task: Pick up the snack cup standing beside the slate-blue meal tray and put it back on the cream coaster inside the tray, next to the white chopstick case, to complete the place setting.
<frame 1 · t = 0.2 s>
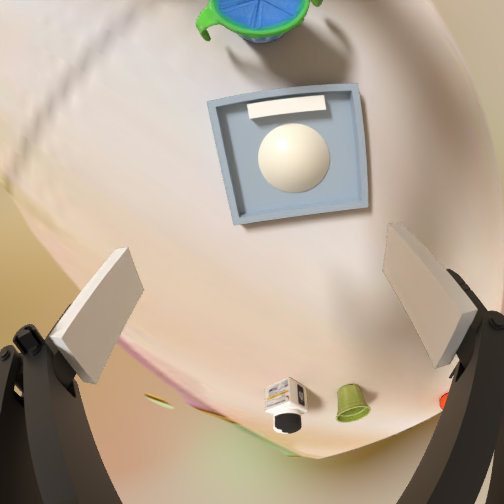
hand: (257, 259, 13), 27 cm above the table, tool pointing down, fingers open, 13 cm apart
meal tray: (292, 150, 36), on the table
container: (285, 386, 64), on the table
snack cup: (260, 22, 27), on the table
plant pot: (348, 388, 65), on the table
tomato: (443, 395, 72), on the table
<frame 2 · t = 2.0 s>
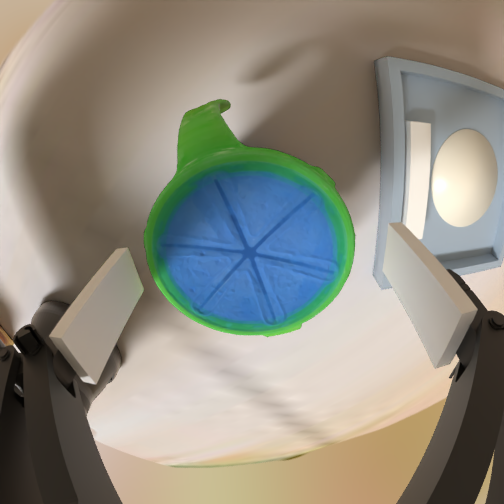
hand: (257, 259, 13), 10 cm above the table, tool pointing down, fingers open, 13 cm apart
meal tray: (456, 176, 20), on the table
snack cup: (252, 195, 22), on the table
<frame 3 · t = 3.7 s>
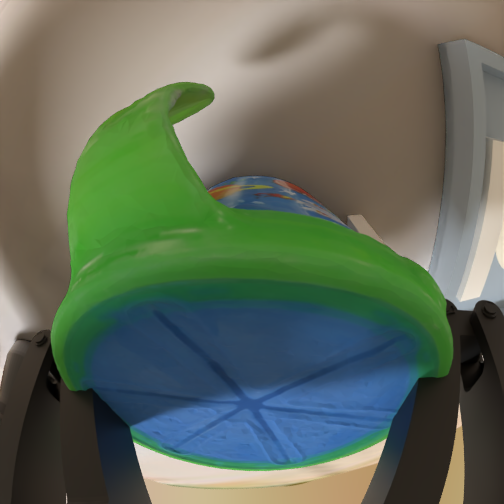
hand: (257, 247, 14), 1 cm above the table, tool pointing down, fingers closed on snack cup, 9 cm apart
snack cup: (256, 240, 15), on the table, touching gripper
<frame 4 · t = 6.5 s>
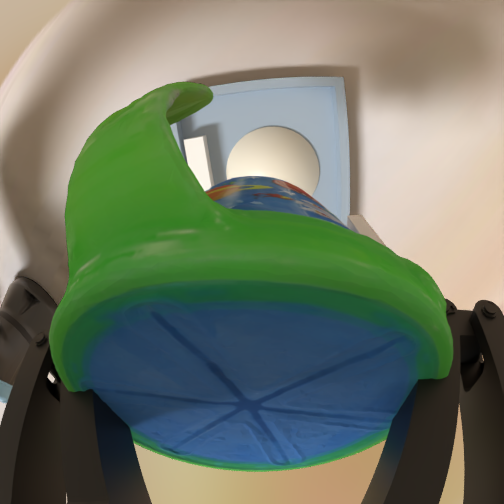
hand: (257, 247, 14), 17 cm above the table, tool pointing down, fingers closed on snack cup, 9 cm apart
meal tray: (263, 171, 29), on the table
snack cup: (256, 240, 15), point 17 cm above the table, touching gripper
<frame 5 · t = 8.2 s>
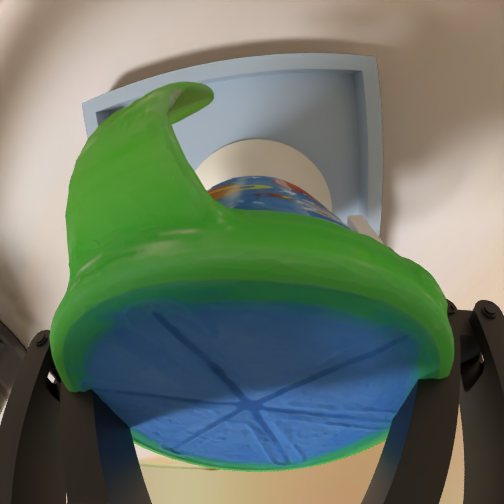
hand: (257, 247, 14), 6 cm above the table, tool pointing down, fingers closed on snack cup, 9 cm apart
meal tray: (243, 211, 19), on the table
snack cup: (256, 240, 15), point 5 cm above the table, touching gripper
when the fingers open (4 cm above the table, at t = 9.4 s): snack cup drops 2 cm, resting on meal tray.
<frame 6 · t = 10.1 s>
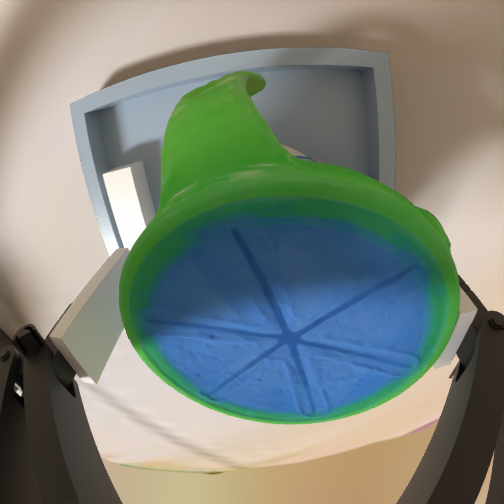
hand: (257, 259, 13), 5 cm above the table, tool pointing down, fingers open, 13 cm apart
meal tray: (243, 218, 18), on the table
snack cup: (292, 215, 16), point 1 cm above the table, touching gripper, meal tray
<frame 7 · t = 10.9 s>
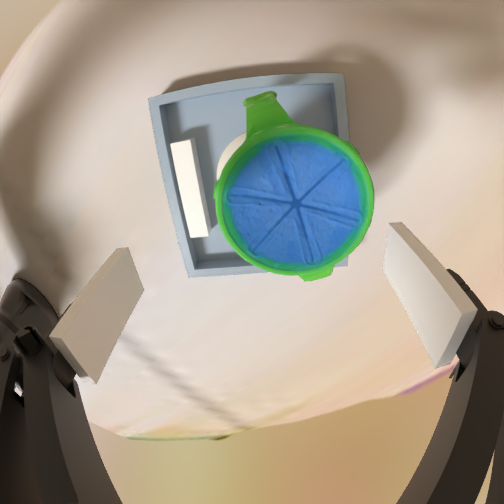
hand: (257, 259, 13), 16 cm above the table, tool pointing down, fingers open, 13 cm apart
meal tray: (257, 176, 27), on the table
snack cup: (287, 171, 26), point 1 cm above the table, touching meal tray
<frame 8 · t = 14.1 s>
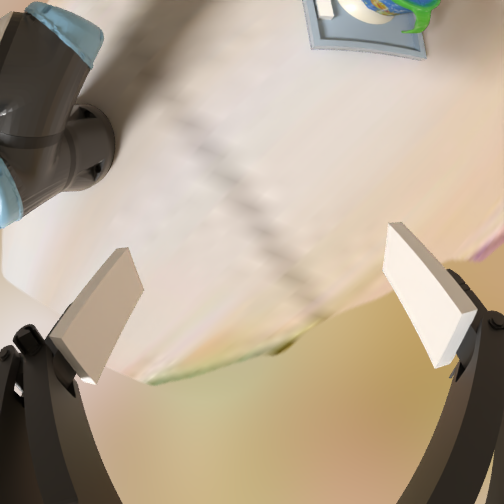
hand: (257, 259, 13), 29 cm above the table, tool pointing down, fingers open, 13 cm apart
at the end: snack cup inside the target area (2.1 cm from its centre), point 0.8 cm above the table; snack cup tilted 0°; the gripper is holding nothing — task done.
